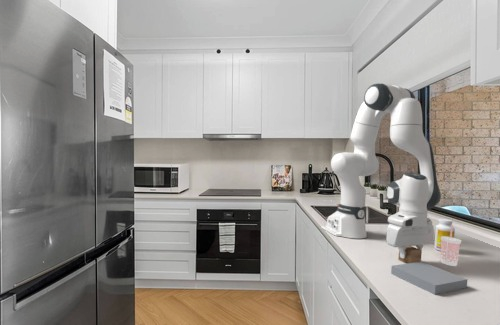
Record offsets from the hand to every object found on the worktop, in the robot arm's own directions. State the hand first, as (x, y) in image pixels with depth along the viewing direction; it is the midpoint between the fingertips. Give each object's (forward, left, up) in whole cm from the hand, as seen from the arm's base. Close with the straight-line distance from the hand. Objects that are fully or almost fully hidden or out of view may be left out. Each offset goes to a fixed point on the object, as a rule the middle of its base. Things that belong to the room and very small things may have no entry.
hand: (409, 257), depth 101 cm
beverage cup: (+5, +14, -2) cm, 15 cm away
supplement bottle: (-6, +28, -2) cm, 29 cm away
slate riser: (+13, -9, -2) cm, 16 cm away
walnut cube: (0, 0, -2) cm, 2 cm away
